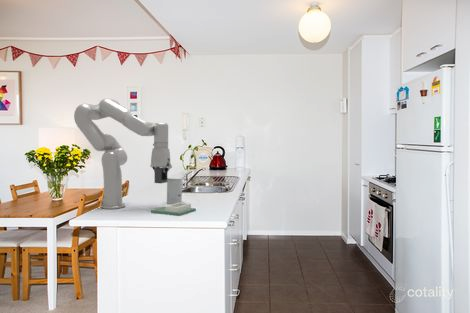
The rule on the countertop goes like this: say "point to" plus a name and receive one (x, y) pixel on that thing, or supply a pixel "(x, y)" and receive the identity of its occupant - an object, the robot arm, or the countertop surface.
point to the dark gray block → (159, 175)
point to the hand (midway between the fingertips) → (161, 179)
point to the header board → (175, 209)
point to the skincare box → (174, 190)
